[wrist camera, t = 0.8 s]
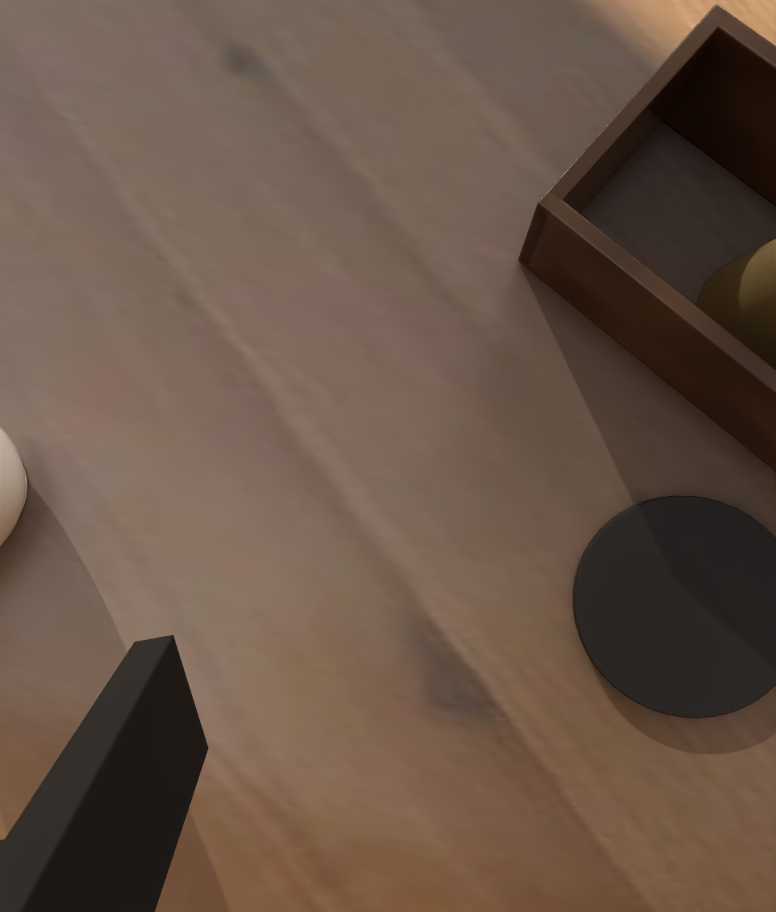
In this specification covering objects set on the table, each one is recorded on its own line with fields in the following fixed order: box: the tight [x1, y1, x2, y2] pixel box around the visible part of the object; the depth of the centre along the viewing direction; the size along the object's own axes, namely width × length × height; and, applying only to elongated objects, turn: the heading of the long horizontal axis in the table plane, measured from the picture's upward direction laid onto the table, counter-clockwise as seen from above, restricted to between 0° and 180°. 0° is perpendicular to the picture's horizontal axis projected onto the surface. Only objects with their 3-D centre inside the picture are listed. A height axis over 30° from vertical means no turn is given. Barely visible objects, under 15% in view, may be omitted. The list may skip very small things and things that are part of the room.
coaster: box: [573, 496, 776, 718], centre depth 27 cm, size 11×11×1 cm
